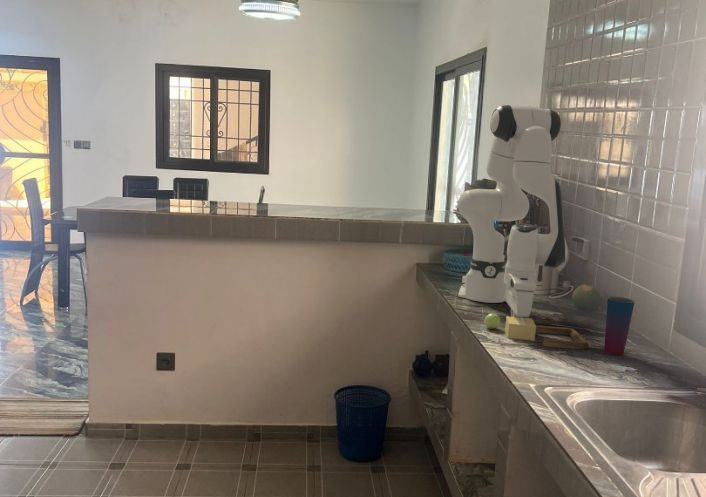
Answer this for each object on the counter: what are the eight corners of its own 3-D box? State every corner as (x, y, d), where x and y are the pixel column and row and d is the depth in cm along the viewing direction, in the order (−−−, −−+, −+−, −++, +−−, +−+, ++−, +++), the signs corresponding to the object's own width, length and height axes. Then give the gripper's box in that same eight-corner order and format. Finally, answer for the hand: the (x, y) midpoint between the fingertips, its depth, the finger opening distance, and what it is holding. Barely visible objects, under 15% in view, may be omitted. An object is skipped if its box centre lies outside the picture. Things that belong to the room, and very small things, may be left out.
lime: (482, 325, 195) (484, 311, 194) (497, 326, 195) (499, 312, 194) (485, 330, 190) (486, 315, 190) (500, 331, 190) (502, 316, 189)
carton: (504, 330, 192) (506, 316, 191) (530, 333, 191) (532, 318, 190) (507, 338, 184) (509, 323, 183) (534, 341, 183) (536, 325, 182)
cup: (629, 357, 173) (637, 303, 170) (603, 354, 174) (610, 301, 172) (624, 350, 180) (631, 297, 177) (598, 347, 181) (605, 295, 178)
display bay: (531, 331, 192) (531, 325, 192) (572, 333, 192) (573, 328, 192) (543, 346, 178) (544, 340, 178) (587, 349, 178) (588, 343, 178)
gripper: (502, 270, 201) (497, 313, 204) (515, 285, 181) (510, 332, 183) (522, 272, 201) (517, 314, 203) (538, 286, 181) (533, 334, 183)
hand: (514, 323), depth 193 cm, fingers closed
